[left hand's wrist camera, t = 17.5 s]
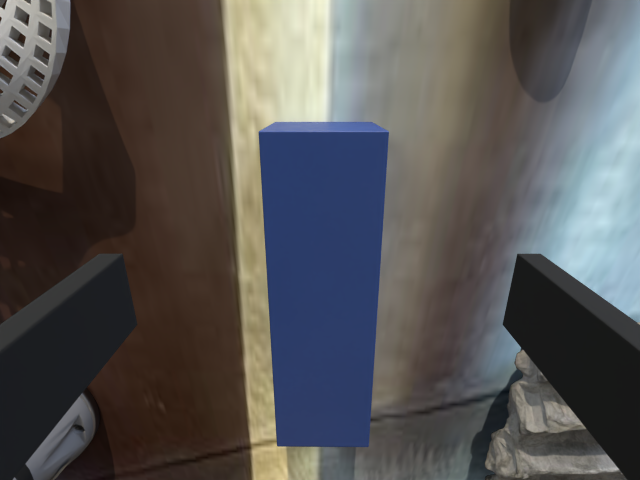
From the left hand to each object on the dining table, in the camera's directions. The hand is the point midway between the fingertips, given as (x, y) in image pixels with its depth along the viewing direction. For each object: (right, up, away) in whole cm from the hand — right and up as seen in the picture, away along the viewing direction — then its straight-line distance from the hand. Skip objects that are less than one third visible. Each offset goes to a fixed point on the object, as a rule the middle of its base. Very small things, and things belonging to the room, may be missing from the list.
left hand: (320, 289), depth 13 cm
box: (0, -1, +25) cm, 26 cm away
